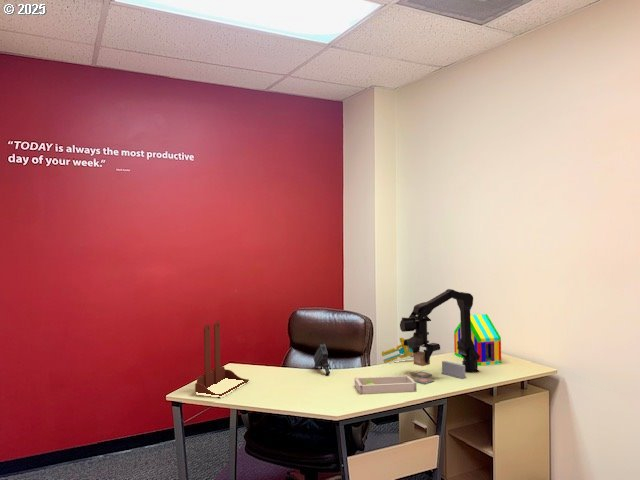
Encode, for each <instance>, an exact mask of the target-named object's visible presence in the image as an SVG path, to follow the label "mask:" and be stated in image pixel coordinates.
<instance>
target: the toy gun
mask: <svg viewBox="0 0 640 480" xmlns="http://www.w3.org/2000/svg"><path fill="white" fill-rule="evenodd" d="M404 340H405V337H403V336H402V337H399V342H400V344H398V345H397V346H396V348H394V347H392V348H390V349H386V350H382V351H381V356H382V357H385V356H387V355H390V354H393V353H395V352H399V353H398V354H396V355H393V356H389V357H387V358H385V359H383V363H384V364H387V363H389V362H393V361H395V360H397V359H398V358H400V359H403V358H404V359H405V358H407V357H410V358H414V353H413V351H412V350H411V349H410V348H409V347H408V346H405V345H404Z"/></svg>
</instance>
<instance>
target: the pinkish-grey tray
mask: <svg viewBox="0 0 640 480" xmlns="http://www.w3.org/2000/svg"><path fill="white" fill-rule="evenodd" d="M413 380H414V379H412V377H411V376H409V375H408V374H407V375H392V376H390V375H389V376H388V375H387V376H366V377H354V387H355V388H357V389H356V390H357V392H358V393H360V394H359V395H365V394H367V395H368V394H369V395H370V394H386V393H387V394H388V393H392V394H393V393H408V392H409V393H410V392H412V393H413V392H417V390H418V389H417V388H418V387H417V382H415V381H413ZM368 383H373V385H366V384H368Z"/></svg>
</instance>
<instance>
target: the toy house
mask: <svg viewBox="0 0 640 480" xmlns="http://www.w3.org/2000/svg"><path fill="white" fill-rule="evenodd" d="M470 320H471V339H472V341H473V343H474V346H475V351H476V352H477V353H478V354H479V355H480V358H479V360H477V363H478V366H479V367H480V366H481V365H482V366H490V365H489V364H493V365H498V364H497V363H501V364H502V337H501V335H500V334H499V332H498V330H497V329H496V327H495V325H494V323H493V322H492V319H490V317H489V315H488V314H487V313H484V314H483V313H482V314H480V313H479V314H470ZM453 333H454V335H453V338H454V347H453V348H454V356H455V355H456V356H455V357H458V358H460V357H461V359H462V358H464V357H462V356H461V353H460V352H459V351H458V349H457V347H458V345H457V341H460V340H461V321H460V322H459V324H458V325H457V326H456V328H455V329H454V331H453ZM482 366H481V367H482Z"/></svg>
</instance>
